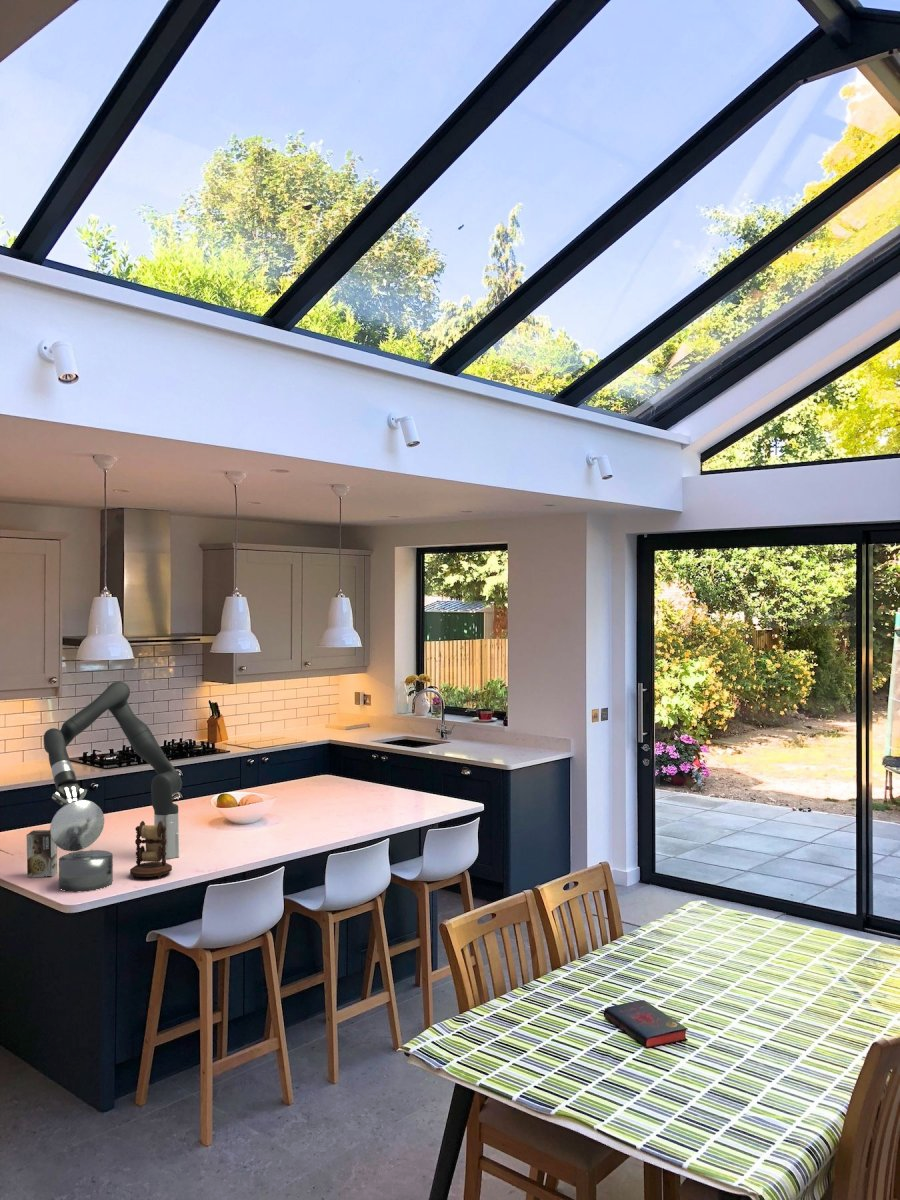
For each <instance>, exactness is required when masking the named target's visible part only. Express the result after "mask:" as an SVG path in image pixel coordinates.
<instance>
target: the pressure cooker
mask: <svg viewBox="0 0 900 1200" xmlns="http://www.w3.org/2000/svg"><path fill="white" fill-rule="evenodd" d="M113 855H114V854H113V852H111V851H107V850H100V849H97V850H95V849H94V850H78V851H70V852H69V853H67V854H64V855H61V856H60V857H59V858H58V889H59V888H60V889H62V890H65V891H64V892H66V891H87V892H90V891H89V890H94V891H97V890H96V889H99V890H101V889H100V888H102V889H105V888H108V887H109V885H110V886H111V885H113V883H114V882H113V881H114V875H113V874H114V872H113V871H114V863H113V862H114V861H113V860H114V856H113ZM112 882H113V883H112ZM107 886H108V887H107ZM104 887H105V888H104ZM60 889H59V890H60ZM62 890H61V891H62Z"/></svg>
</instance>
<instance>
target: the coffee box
mask: <svg viewBox="0 0 900 1200" xmlns="http://www.w3.org/2000/svg"><path fill="white" fill-rule="evenodd" d="M26 858H27V859H26V860H27V861H26V869H27V873H26V874H27V875H26V876H27V877H32V878H48V877H47V876H52V877H53V876H55V875H56V874H58V846H57V845H56V844H55V843H54V841H53V840H52V838H51V834H50V829H46V830H45V829H41V830H40V829H39V830H37V829H36V830H32V831H30V832H29V833H27V834H26ZM44 876H46V877H44ZM27 877H26V878H27Z"/></svg>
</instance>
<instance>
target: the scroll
mask: <svg viewBox="0 0 900 1200" xmlns="http://www.w3.org/2000/svg"><path fill="white" fill-rule="evenodd" d="M135 831H136V832H135V833H136V835H135V837H136V839H135V845H136V849H135V850H136V852H135V856H136V861H135V863H136V865H134V866H133V867H131V868H130V869H129V874H130V875H131V876H132V879H133V878H135V879H136V877H141V878H142V877H143V878H149V877H150V878H151V877H157V878H158V879H159V880H160V879H161V877H162V876H163V875H166V874H168V873H170V872H172V870H173V866H172V865H171V864H170V863H168V862H167V861H166V860H167V859H165V858H166V857H165V856H166V852H165V850H166V848H165V845H166V842H167V840H166V839H165V838H166V835H165V833H166V832H165V831H166V827H165V826H163V823H162V821H159V823H158V825H154V824H150V825H149V824H148V825H147V824H146V823H145V821H144V820H141V822H140V823H139V825H138V826H137V825H136V827H135ZM161 835H162V839H161ZM141 844H145V846H144V845H141ZM162 856H163V857H162ZM162 858H163V859H162Z"/></svg>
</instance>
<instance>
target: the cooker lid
mask: <svg viewBox="0 0 900 1200" xmlns="http://www.w3.org/2000/svg"><path fill="white" fill-rule="evenodd" d="M50 822H51V823H50V826H49V830H50V834H51V838H52V840H53V841H54V843H55V844H56V845H57V848H60V849H61V850H64V851H67V852H77V851H83V850H84V849H87V848H88V847H90V846H91V845H92V844H94V843H95V842H96V841H97V840H98V838H99V837H100V836H101V834H102V832H103V830H104V826H105V815H104V812H103V810H102V809H101V807H100V806H99V805H97V804H96V803H95V802H94V801H92V800H88V799H83V800H78V799H77V800H75V801H72V802H70V803H68V804H66V805H64V806H61V808H60V809H58V810H57V811H56V812H55V814H54V816H53V818H52V820H51V821H50Z"/></svg>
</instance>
